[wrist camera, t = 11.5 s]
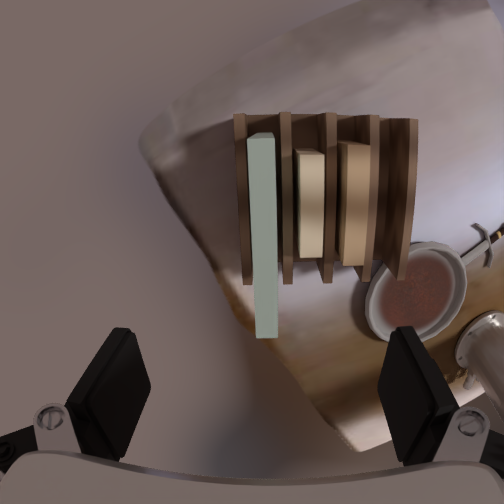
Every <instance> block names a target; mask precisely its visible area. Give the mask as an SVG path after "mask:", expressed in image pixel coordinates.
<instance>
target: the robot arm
mask: <svg viewBox="0 0 504 504" xmlns="http://www.w3.org/2000/svg"><path fill="white" fill-rule="evenodd" d="M455 359H456V361H457V363H458V364H459V366H461V367H462V368H466V369H468V372H467V375H468V376H467V378H466V379H465V382H464V384H463V387H464V388H465V389H467V390H469V389H471V387H472V385H473V383H474V380H475V378H476V381H478V382H480V384H481V385H482V387H483V388H484V390H485V392H486V393H487V395H488V397H489V398H490V400H491V402H492V404H493V405H494V407H495V409H496V411H497V412H498V414H499V416H500V418H501V420H502V421H503V422H504V313H502V312H501V311H497V310H495V311H489V312H486V313H484V314H482V315H481V316H479V317H478V318H476V319H475V320H474V321H473V322H471V323H470V324H469V326H468V327H467V328H466V329H465V330H464V332H463V333H462V335H461V336H460V338H459V340H458V342H457V344H456V348H455ZM150 390H151V384H150V381H149V377H148V374H147V371H146V368H145V365H144V362H143V359H142V355H141V352H140V349H139V345H138V342H137V339H136V335H135V333H133V332H131V330H130V329H129V328H114V329H113V330H112V332H111V333H110V334H109V336H108V337H107V339H106V340H105V342H104V343H103V345H102V346H101V348H100V349H99V351H98V352H97V354H96V355H95V357H94V358H93V360H92V362H91V363H90V364H89V366H88V368H87V369H86V370H85V372H84V374H83V375H82V377H81V378H80V380H79V381H78V383H77V385H76V386H75V388H74V389H73V391H72V393H71V394H70V396H69V397H68V399H67V402H66V403H65V405H64V406H63V405H61V404H58V403H51V404H47V405H45V406H43V407H41V408H40V409H39V410H38V411H37V412H36V414H35V416H34V418H33V424H34V425H31V426H29V427H26V428H23V429H21V430H18V431H16V432H12V433H10V434H7V435H4V436H1V437H0V504H504V435H502V434H499V433H497V432H495V431H492V430H490V429H489V428H490V423H489V419H488V417H487V416H486V414H485V413H484V412H482V411H481V410H479V409H477V408H474V407H463V408H461V409H460V407H459V405H458V403H457V401H456V399H455V398H454V396H453V394H452V392H451V390H450V388H449V386H448V384H447V382H446V380H445V378H444V377H443V375H442V373H441V371H440V369H439V367H438V366H437V364H436V362H435V361H434V359H432V358H431V357H430V356H429V354H428V352H427V350H426V349H425V347H424V345H423V343H422V341H421V340H420V338H419V336H418V335H417V333H416V331H415V329H414V328H413V326H400V327H397V328H396V329H395V331H392V332H391V334H390V339H389V343H388V347H387V351H386V355H385V359H384V363H383V367H382V370H381V374H380V378H379V381H378V394H379V397H380V400H381V403H382V407H383V410H384V413H385V416H386V420H387V423H388V427H389V430H390V433H391V437H392V440H393V444H394V448H395V451H396V455H397V458H398V461H399V462H402V461H403V465H404V467H399V468H394V469H388V470H381V471H375V472H367V473H360V474H351V475H342V476H332V477H319V478H300V479H243V478H226V477H213V476H202V475H193V474H185V473H177V472H170V471H163V470H158V469H152V468H146V467H141V466H136V465H130V464H126V463H121V462H119V460H120V457H121V458H123V457H124V456H125V454H126V451H127V448H128V446H129V443H130V441H131V438H132V436H133V433H134V430H135V428H136V425H137V423H138V420H139V418H140V415H141V413H142V410H143V408H144V406H145V403H146V401H147V398H148V396H149V393H150Z"/></svg>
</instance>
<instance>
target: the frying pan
mask: <svg viewBox="0 0 504 504" xmlns="http://www.w3.org/2000/svg"><path fill="white" fill-rule="evenodd" d="M475 225H476V226H477V227H479V228H480V229H481V230H483V231H484V234H485V238H486V240H485V241H483V242H482V243H481V244H480V245H478V246H477V247H476V248H474V249H473V250H472V251H470V252H469V253H468V254H466V255H465V256H464V257H462V258H460V256H459V254H458V253H457V252H456V251H454V250H453V249H452V248H450V247H449V246H448V245H445V244H441V243H437V242H432V241H431V242H424V243H417V244H412V245H410V248H409V255H408V262H407V268H406V274H405V280H398V281H397V280H396V279H395V277H394V276H393V274H392V273H391V272H390V270H389V269H388V268H387V266H386V265H385V264H384V262H383V263H382V265H381V266H380V268H379V269H378V271H377V272H376V274H375V275H374V276H373V278H372V281H371V284H370V287H369V290H368V293H367V295H366V298H365V316H366V319H367V321H368V324H369V327H370V329H371V330H372V331H373V332H374V333H375V334H376V335H377V336H378V337H379V338H381V339H383V340H385V341H387V342H389V339H390V334H391V332H392V331H395V329H396V328H397V327H400V326H413V328H414V329H415V331H416V333H417V335H418V336H419V338H420V340H421V341H422V342H423V341H425V340H428V339H430V338H432V337H434V336H435V335H437V334H438V333H439V332H441V331H442V330H443V329H444V328H445V327H447V326H448V325H449V324H450V322H451V321H452V320H453V318H454V317H455V316H456V315H457V313H458V312H459V309H460V307H461V305H462V303H463V301H464V298H465V293H466V287H467V278H466V270H465V266H466V265H467V264H469V263H470V262H471V261H473V260H474V259H475V258H477V257H478V256H479V255H481V254H482V253H483V252H484V251H486V250H487V249H489V252H490V256H489V260H488V264H487V267H489V268H490V267H491V264H492V260H493V256H494V253H493V249H492V245H491V244H493V243H494V242H495V241H496V240H498V239H499V238H501V236H502V235H504V226H503V228H502V229H501V230H500V231H498V232H496V234H495V235H493V236H492V237H491V238H489V234H488V231H487V230H486V229H484V228H483V227H482V226H480V225H479V224H477V223H475Z"/></svg>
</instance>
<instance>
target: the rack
mask: <svg viewBox="0 0 504 504" xmlns="http://www.w3.org/2000/svg"><path fill="white" fill-rule="evenodd" d="M233 117H234V137H235V157H236V175H237V193H238V211H239V228H240V245H241V262H242V278H243V285H252V281H253V257H252V235H251V214H250V192H249V170H248V149H247V139H248V138H249V137H251V136H253V135H254V134H256V133H260V132H272V134H273V136H274V138H275V167H276V205H277V262H282V274H283V284H292V282H293V262H301V261H316V262H317V265H318V268H319V271H320V275H321V278H322V281H323V283H332V278H333V263H334V261H340V258H339V256H338V254H337V252H336V250H335V248H334V246H335V226H336V195H337V140H341V141H353V142H357V143H362V144H366V145H370V185H369V205H368V221H367V234H366V246H365V257H364V265H358V266H353V267H354V269H355V271H356V273H357V275H358V277H359V278H360V280H361V282H370V276H371V268H372V260H381V259H382V261H383V262H384V264H385V265H386V266H387V268H388V269H389V270H390V272H391V273H392V274H393V276H394V277H395V279H396V280H397V281H398V280H405V274H406V268H407V262H408V255H409V248H410V241H411V233H412V224H413V215H414V205H415V193H416V179H417V159H418V119H409V118H379V115H359V116H348V115H336V113H321V114H291V112H280V113H279V114H274V115H246V114H244V113H242V114H233ZM296 148H313V149H315V150H316V151H318V152H320V153H322V154H324V224H323V252H322V257H312V258H300V254H299V250H298V245H297V241H296V236H295V232H294V149H296Z"/></svg>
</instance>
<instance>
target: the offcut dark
mask: <svg viewBox="0 0 504 504" xmlns="http://www.w3.org/2000/svg"><path fill="white" fill-rule="evenodd" d="M369 185H370V145H366V144H362V143H357V142H353V141H341V140H337V195H336V226H335V246H334V248H335V250H336V252H337V254H338V256H339V258H340V261H341V263H342V265H343V266H358V265H364V257H365V246H366V234H367V221H368V205H369Z"/></svg>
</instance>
